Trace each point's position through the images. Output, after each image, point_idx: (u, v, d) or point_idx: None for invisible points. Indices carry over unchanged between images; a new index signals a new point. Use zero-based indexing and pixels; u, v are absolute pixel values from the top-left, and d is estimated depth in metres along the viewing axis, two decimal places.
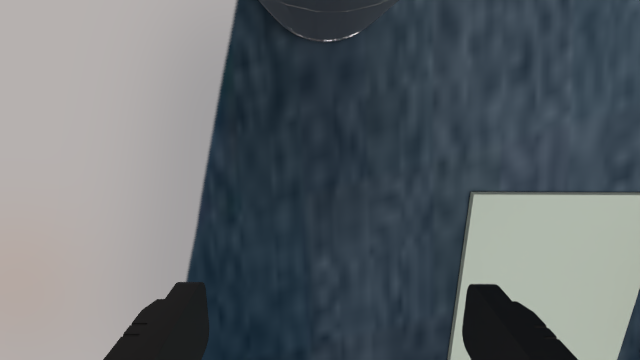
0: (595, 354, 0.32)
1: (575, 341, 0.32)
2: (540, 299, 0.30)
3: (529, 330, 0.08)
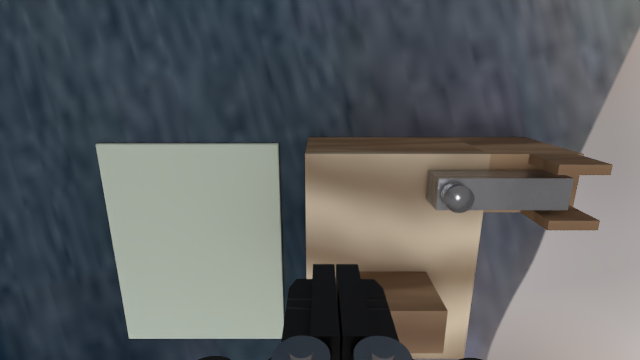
0: (260, 304, 0.33)
1: (237, 291, 0.33)
2: (190, 248, 0.32)
3: (358, 300, 0.09)
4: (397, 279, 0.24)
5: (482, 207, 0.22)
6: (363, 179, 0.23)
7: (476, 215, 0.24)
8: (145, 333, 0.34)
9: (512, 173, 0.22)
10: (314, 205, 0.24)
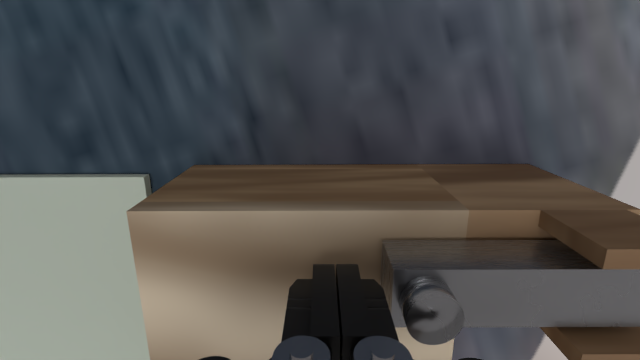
0: None
1: None
2: (30, 329, 0.21)
3: (358, 300, 0.09)
4: None
5: (481, 322, 0.11)
6: (239, 255, 0.13)
7: None
8: None
9: (538, 251, 0.12)
10: (156, 298, 0.13)
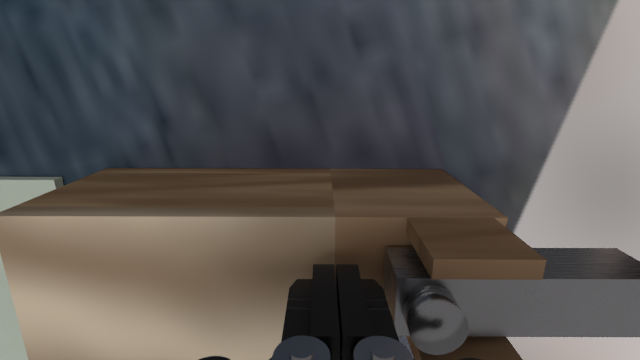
0: None
1: None
2: None
3: (358, 300, 0.09)
4: None
5: (485, 331, 0.11)
6: (108, 260, 0.13)
7: None
8: None
9: None
10: (29, 303, 0.13)
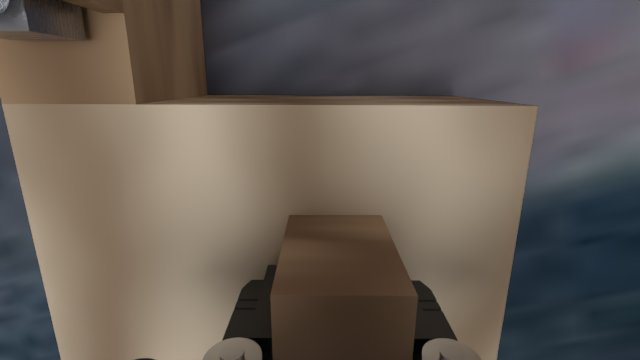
0: None
1: None
2: None
3: None
4: None
5: None
6: (102, 335, 0.13)
7: (145, 119, 0.11)
8: None
9: None
10: None
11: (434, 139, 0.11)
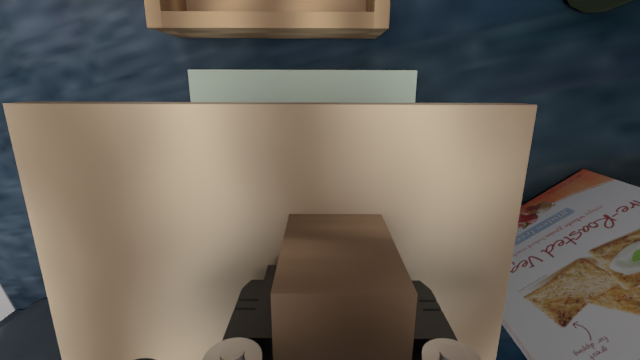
0: (370, 96, 0.30)
1: None
2: None
3: None
4: None
5: None
6: (103, 334, 0.13)
7: (146, 118, 0.11)
8: None
9: None
10: None
11: (433, 138, 0.11)
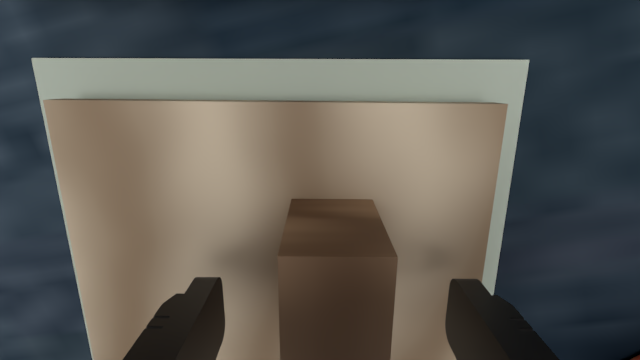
0: None
1: None
2: None
3: (505, 322, 0.09)
4: None
5: None
6: (125, 306, 0.14)
7: (167, 114, 0.12)
8: None
9: None
10: None
11: (418, 132, 0.13)
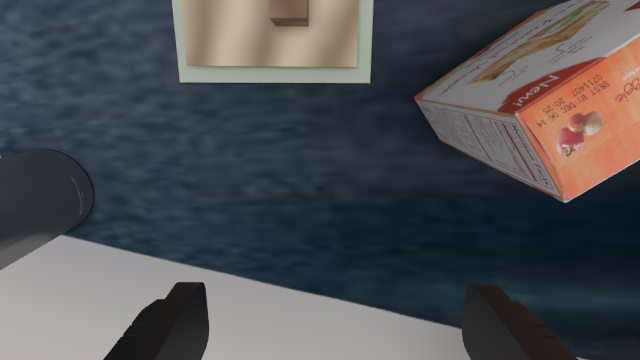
0: None
1: None
2: None
3: (529, 330, 0.08)
4: None
5: None
6: (201, 21, 0.32)
7: None
8: (364, 65, 0.35)
9: None
10: (223, 59, 0.33)
11: None
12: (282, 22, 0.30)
